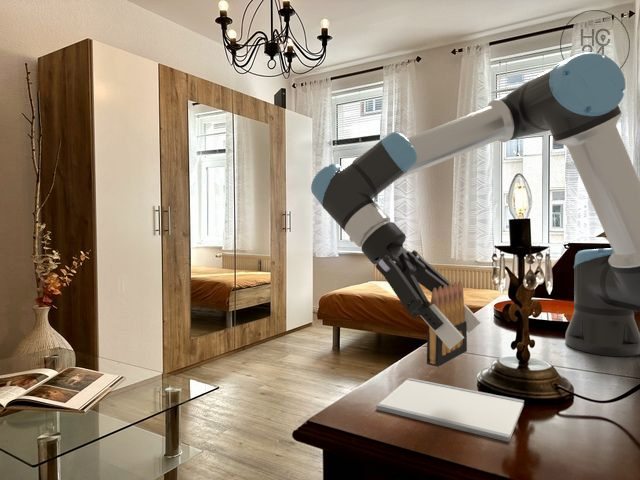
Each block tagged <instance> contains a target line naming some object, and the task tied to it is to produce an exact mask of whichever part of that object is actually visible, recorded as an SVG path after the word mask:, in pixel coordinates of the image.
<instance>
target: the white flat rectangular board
mask: <svg viewBox="0 0 640 480" xmlns="http://www.w3.org/2000/svg"><path fill="white" fill-rule="evenodd" d="M524 406H525V400H524V399H519V398H515V397H508V396H504V395H497V394H493V393H488V392H483V391H477V390H473V389H469V388H468V389H467V388H462V387H457V386H453V385H448V384H442V383H439V382H438V383H437V382H431V381H427V380H422V379H416V378H412V377H411V378H410V377H408V378H406V380H404V382H402V383H400V385H399V386H398V387H397V388H396V389H394V390H393V391H391V393H389V394H388V395H387V396H386V397H385V398H384V399H383V400H381V401H380V402H379V403H377V404H376V406H375V407H376V410H378V411H382V412H385V413H390V414H394V415H397V416H401V417H406V418H410V419H413V420H417V421H422V422H426V423H430V424H434V425H439V426H442V427H446V428H450V429H454V430H458V431H461V432H467V433H470V434H473V435H478V436H482V437H487V438H491V439H494V440H499V441H502V442H507V443H510V441H511V438H512V436H513V433H514V431H515V429H516V426H517V424H518V421H519V418H520V416H521V413H522V410H523V408H524Z"/></svg>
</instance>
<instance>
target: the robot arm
mask: <svg viewBox="0 0 640 480" xmlns="http://www.w3.org/2000/svg"><path fill="white" fill-rule="evenodd" d="M625 90H626V79H625V76H624V73H623V71H622V69H621V68H620V66H619V65H618V64H617V63H616V62H615V61H614V60H613V59H612V58H610V57H608V56H607V55H604V54H603V55H602V54H599V53H597V52H584V53H580V54H576V55H574V56H571V57H569V58H567V59H563V60H562V61H560V62H559V63H558V64H555V65H554V66H552V67H550V68H549V69H547V70H545V71H544V72H541V73H540V74H538V75H536V76H534V77H532V78H531V79H529V80H527V81H526V82H524V83H523V84H522V85H519V86H518V87H516V88H515V89H513V90H512V91H509V92H507V93H506V94H505V95H502V96H500V97H498V98H495V99H493V100H491V101H489V103H488V104H487V106H486V107H485V108H483V109H480V110H477V111H474V112H471V113H469V114H466V115H464V116H461V117H458V118H456V119H454V120H451V121H449V122H446V123H443V124H440V125H438V126H435V127H433V128H430V129H428V130H425V131H422V132H420V133H418V134H415V135H412V136H409V137H406V136H405V135H404V134H402V133H400V132H398V131H393V132H390V133H389V134H388V135H386V136H385V137H383V138H381V139H380V140H379V141H378V142H377V143H376V144H374V145H372V147H370V149H368V150H367V151H366V152H364V153H362V154H361V155H360V156H358V157H356V158H355V159H354V160H353V161H352V163H350V165H348V166H347V167H343V166H341V165H340V164H338V163H331V164H329V165H328V166H324V167H323V168H322V169H321V170H320V171H318V172H317V174H316V175H315V176H314V178H313V179H312V181H311V187H310V189H311V194H312V195H313V196H314V197H315V198H316V200H317V202H318V203H319V204H320V205H321V206H322V208H323V209H324V210H325V211H326V212H327V213H328V214H329V215H330V217H331V218H332V219H333V220H334V221H335V222H336V223H337V224H338V226H339V227H340V228H341V230H343V232H345V234H347V236H348V237H349V241H350V242H354V243H355V245H356V246H357V247H358V248H361V252H362V253H363V255H364V256H366V258H367V259H368V260H369V261H370V262H371V264H373V265H375V268H376V269H377V271H378V272H379V273H380V274H381V275H382V276H383V277H384V279H385V280H386V282H387V284H388V285H389V286H390V288H391V289H392V290H393V292H394V294H395V296H397V298H398V299H399V301H400V303H401V304H402V305H403V307H404V308H405V310H406V311H407V313H408V314H410V316H411V317H412V318H413V319H417V318H418V317H421V319H423V321H424V322H425V323H426V324H427V326H428V327H430V328H431V329H432V330H433V331H434V332H435V333H436V334H437V336H438V337H439V338H440V339H441V340H442V341H443V342H444V344H445V345H446V346H447V347H448V348H449V349H451V348H453V347H454V346H455V345H456V344H458V343H459V342H460V341H461V340H462V339H464V337H463V336H462V334H461V333H460V332H459V331H458V330H457V329H456V328H455V327H454V326H453V324H452V323H451V322H450V321H449V320H448V319H447V318H446V317H445V316H444V314H443V313H442V312H441V311H440V310H439V309H438V308H437V307H436V306H435V304H432V305H431V302H430V301H429V299H428V297H427V296H426V294H425V292H424V290H423V289H422V287H424V288H425V289H426V290H428V291H429V292H430V293H432V292H433V289H434V288H436V289H437V292H438V288H439V286H441V287H442V290H443V287H444V285H446V286H447V288H448V286H449V284H450V283H451V282H450V281H449V280H447V279H446V278H445V276H443V275H442V274H441V273H440V272H438V270H437V269H435V268H434V267H433V266H432V265H431V264H430V263H428V262H427V261H426V260H425V259H424V258H423V257H422V256H421V255H420V254H419V253H418V252H419V251H417V250H415V249H413V251H409V250H407V249H406V248H404V246H403V245H404V243H405V242H406V239H407V237H406V234H405V233H404V232H403V230H402V229H400V228H399V226H398V225H397V224H396V223H395V222H392V221H391V218H390V217H389V215H388V214H387V213H386V212H385V211H384V210H383V209H382V208H381V207H380V206H379V205H378V204H377V203H376V202H375V200H374V198H376V197H377V196H378V195H379V194H380V193H382V192H383V191H384V190H385V189H387V188H388V187H390V186H391V185H392V184H393V183H394V182H395V181H397V180H400V179H401V178H404V177H406V176H409V175H411V174H414V173H418V172H419V171H422V170H425V169H428V168H430V167H432V166H436V165H438V164H440V163H442V162H445V161H448V160H450V159H452V158H456V157H458V156H461V155H463V154H466V153H469V152H471V151H474V150H477V149H479V148H482V147H484V146H487V145H489V144H492V143H494V142H497V141H498V142H501V143H507V142H509V141H510V142H511V141H512V140H515V139H519V138H522V137H525V136H530V135H535V134H539V133H543V132H548V131H550V133H551V135H552V136H551V137H552V138H553V140H554V142H555V143H557V144H559V145H563V146H565V147H566V148H567V150H568V152H569V154H570V157H571V158H572V161H573V163H574V165H575V167H576V170H577V173H578V175H579V177H580V179H581V182H582V184H583V186H584V189H585V191H586V193H587V195H588V198H589V200H590V202H591V204H592V206H593V209H594V211H595V213H596V214H595V215H596V216H597V218H598V220H599V222H600V224H601V227H602V229H603V231H604V234H605V236H606V238H607V241H608V242H609V243H608V244H609V245H610V248H596V249H595V248H594V249H583V250H578V251H577V253H576V254H575V256H574V265H573V269H574V270H573V271H574V273H573V274H574V275H573V276H574V277H573V278H574V279H573V281H574V284H573V285H574V286H573V287H574V288H573V290H574V291H573V293H574V295H573V296H574V297H573V298H574V300H573V305H574V308H573V313H572V316H571V318H570V322H569V324H568V326H567V329H566V331H565V339H564V340H565V342H564V343H565V344H566V345H567V346H568V347H570V348H571V349H574V350H577V351H581V352H585V353H590V354H594V355H601V356H609V357H636V356H639V355H640V331H639V328H638V325H637V323H636V319H635V313H634V312H637V313H640V178H639V177H638V174H637V171H636V169H635V168H634V164H633V162H632V160H631V157H630V156H629V153H628V151H627V148H626V146H625V144H624V142H623V139H622V136H621V134H620V132H619V129H618V127H617V124H618V122H619V120H620V118H621V116H622V111H621V109H620V106H619V105H620V103H621V101H622V100H623V99H624V95H625V93H624V91H625ZM451 285H452V287H453V284H452V283H451ZM421 286H422V287H421ZM464 306H465V321H466V322H467V334H468V333H471V332H472V331H473V330H474V329H476V328H477V326H479V325H480V324H481V323H482V321H481V320H480V319H479V318H478V316H477V315H476V314H474V312H473V311H472V310H471V309H470V308H469V307H468V306H467V305H466V304H465V303H464Z"/></svg>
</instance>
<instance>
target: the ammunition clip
mask: <svg viewBox="0 0 640 480" xmlns="http://www.w3.org/2000/svg"><path fill="white" fill-rule="evenodd" d="M451 284H452V283H451V282H450V284H449V286H448V288H447V286H446V285H444V287H443V290H442V287H441V286H439V288H438V292H437V289H436V288H434V289H433V292H431V298H430V306H431V305H432V304H435V306H436V307H437V308H438V309H439V310H440V311H441V312H442V313H443V314H444V316H445V317H446V318H447V319H448V320H449V321H450V322H451V323H452V324H453V326H454V327H455V328H456V329H457V330H458V331H459V332H460V333H461V334H462V336H463V337H464V339H462V340H461V341H460V342H459V343H458V344H456V345H455V346H454V347H453V348H451V349H449V348H448V347H447V346H446V345H445V344H444V342H443V341H442V340H441V339H440V338H439V337H438V336H437V334H436V333H435V332H434V331H433V330H432V329H431V328H430V327H429V326H428V327H429V328H428V331H427V332H426V333H427V334H426V335H427V336H426V338H427V339H426V365H429V366H433V367H437V368H439V367H440V366H441V367H442V365H444V364H446V363H448V362H449V361H452V360H453V359H455V358H457V357H458V356H460V355H462V354H464V353H466V352H468V347H467V346H468V340H467V339H468V337H467V335H468V331H467V322H466V321H465V306H464V304H465V300H464V299H465V298H464V288H463V283H462V282H461V280H459V281H458V283H457V282H453V284H452V285H453V287H452V285H451Z"/></svg>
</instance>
